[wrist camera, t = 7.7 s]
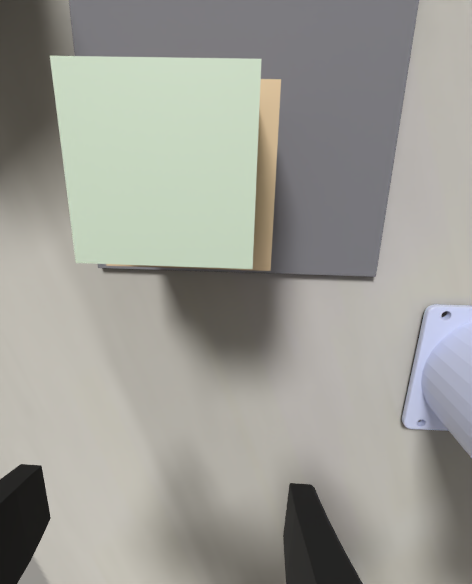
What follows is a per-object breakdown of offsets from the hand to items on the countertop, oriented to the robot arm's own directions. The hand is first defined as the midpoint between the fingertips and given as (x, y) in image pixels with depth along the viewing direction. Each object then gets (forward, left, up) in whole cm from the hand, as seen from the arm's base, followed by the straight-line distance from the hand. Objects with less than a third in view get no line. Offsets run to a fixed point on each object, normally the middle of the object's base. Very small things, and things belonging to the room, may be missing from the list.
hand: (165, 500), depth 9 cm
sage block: (0, -9, -4) cm, 10 cm away
